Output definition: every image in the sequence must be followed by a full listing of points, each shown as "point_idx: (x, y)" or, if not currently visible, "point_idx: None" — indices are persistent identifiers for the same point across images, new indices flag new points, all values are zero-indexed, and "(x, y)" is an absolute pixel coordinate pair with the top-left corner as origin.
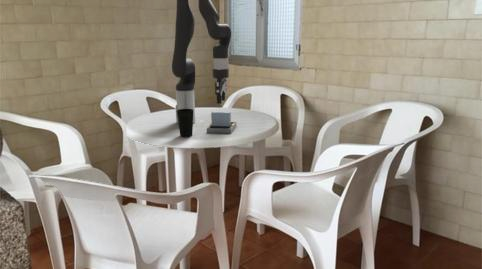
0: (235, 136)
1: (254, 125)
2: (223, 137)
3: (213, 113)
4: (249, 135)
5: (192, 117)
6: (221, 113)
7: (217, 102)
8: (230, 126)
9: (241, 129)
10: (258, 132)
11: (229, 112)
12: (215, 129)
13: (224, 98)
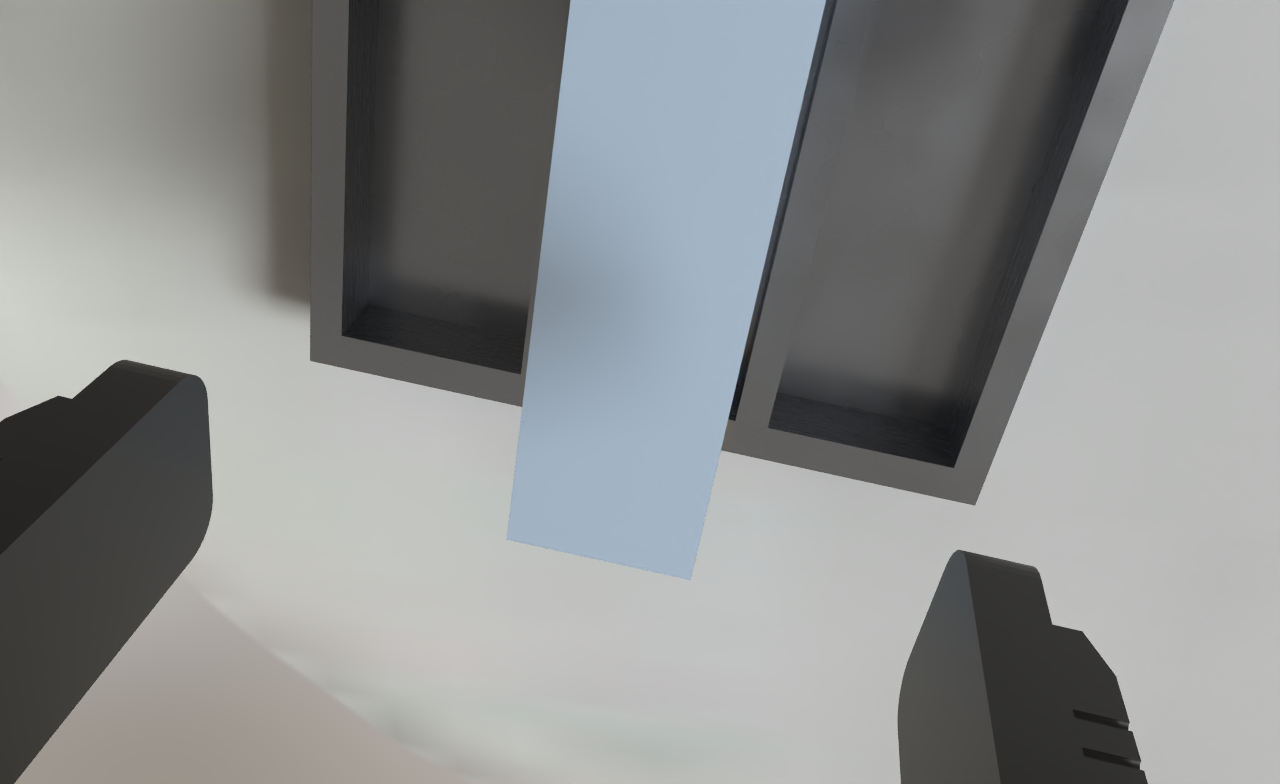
0: None
1: None
2: (39, 172)
3: (577, 29)
4: (255, 584)
5: None
6: (538, 307)
7: (57, 401)
8: None
9: None
10: (457, 716)
11: (546, 539)
12: (321, 13)
13: (902, 759)
